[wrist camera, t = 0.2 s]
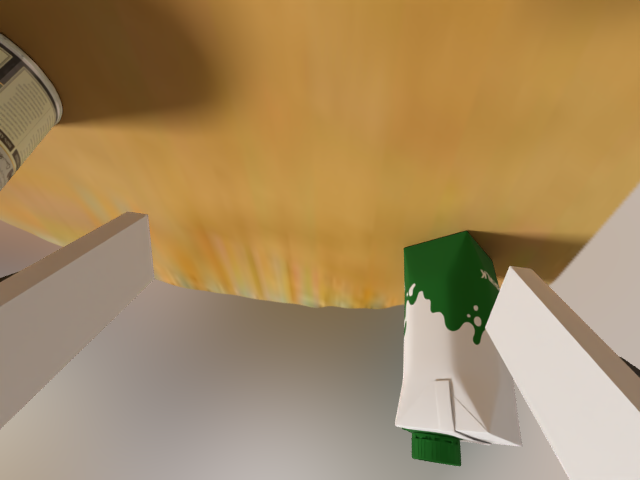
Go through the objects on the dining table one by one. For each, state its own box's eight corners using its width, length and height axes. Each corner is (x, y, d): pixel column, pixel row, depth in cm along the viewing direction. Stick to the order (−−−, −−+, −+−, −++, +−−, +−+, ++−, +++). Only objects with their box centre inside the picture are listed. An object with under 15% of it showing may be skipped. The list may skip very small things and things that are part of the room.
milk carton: (392, 245, 38) (383, 452, 28) (474, 222, 33) (501, 470, 22) (429, 277, 44) (433, 463, 33) (505, 262, 38) (539, 479, 27)
